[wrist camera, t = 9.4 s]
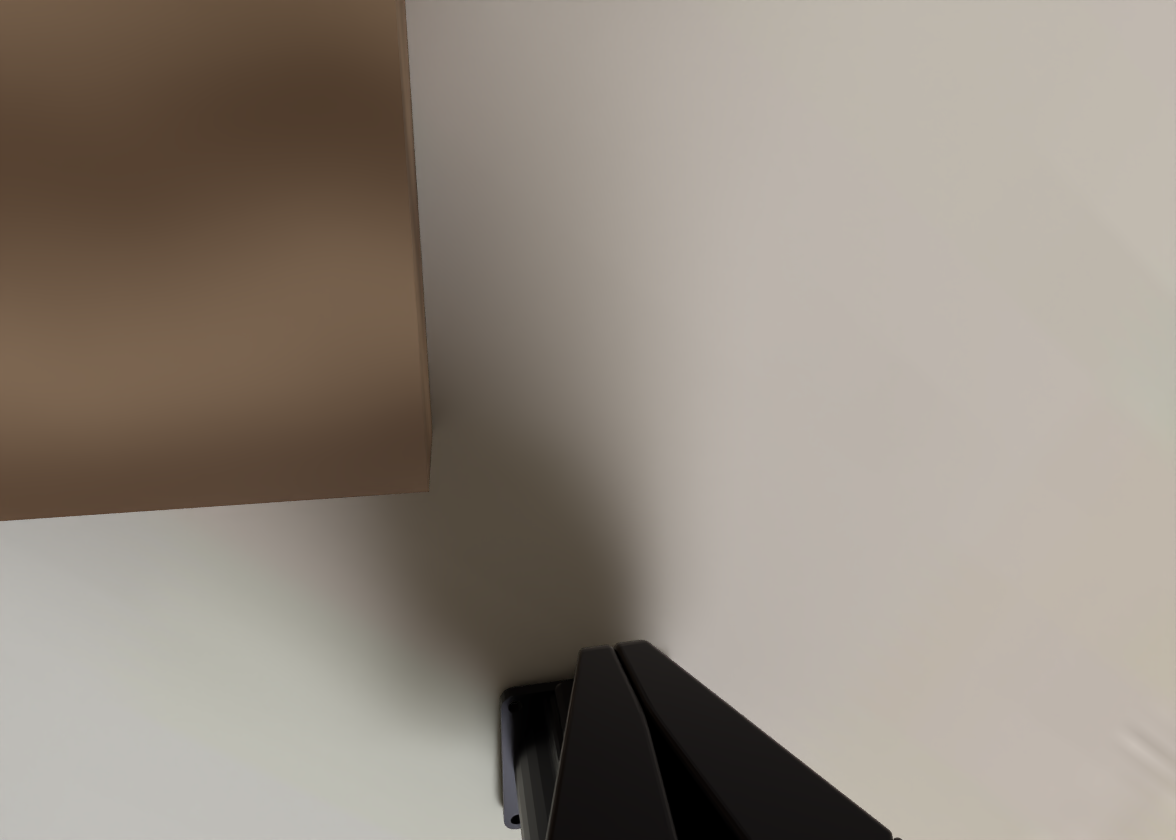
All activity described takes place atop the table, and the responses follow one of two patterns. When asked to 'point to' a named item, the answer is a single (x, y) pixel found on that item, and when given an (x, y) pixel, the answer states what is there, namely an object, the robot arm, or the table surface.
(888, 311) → the table surface
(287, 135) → the brown flat block
